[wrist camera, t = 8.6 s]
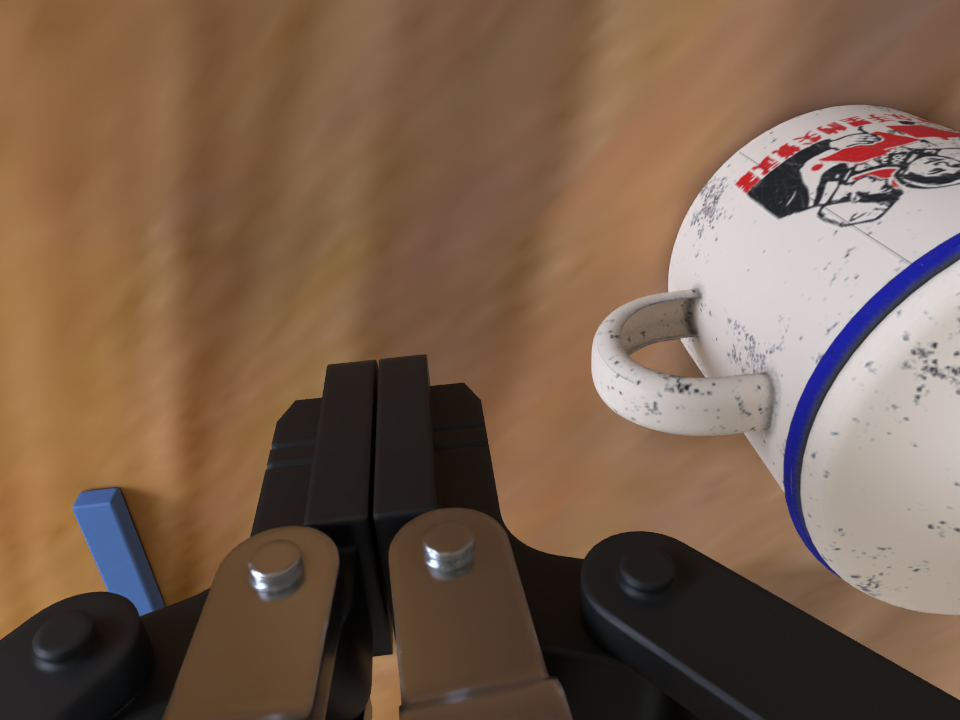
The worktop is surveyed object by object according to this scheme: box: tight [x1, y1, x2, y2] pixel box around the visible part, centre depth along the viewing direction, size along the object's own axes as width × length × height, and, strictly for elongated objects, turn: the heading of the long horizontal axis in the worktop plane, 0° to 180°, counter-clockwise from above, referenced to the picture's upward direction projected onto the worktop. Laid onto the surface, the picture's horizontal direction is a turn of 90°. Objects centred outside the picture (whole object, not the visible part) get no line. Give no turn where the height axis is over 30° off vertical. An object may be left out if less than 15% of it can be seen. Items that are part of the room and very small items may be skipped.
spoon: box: [73, 488, 165, 616], centre depth 26 cm, size 14×4×1 cm, turn 4°
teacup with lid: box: [591, 105, 960, 615], centre depth 17 cm, size 12×9×12 cm
